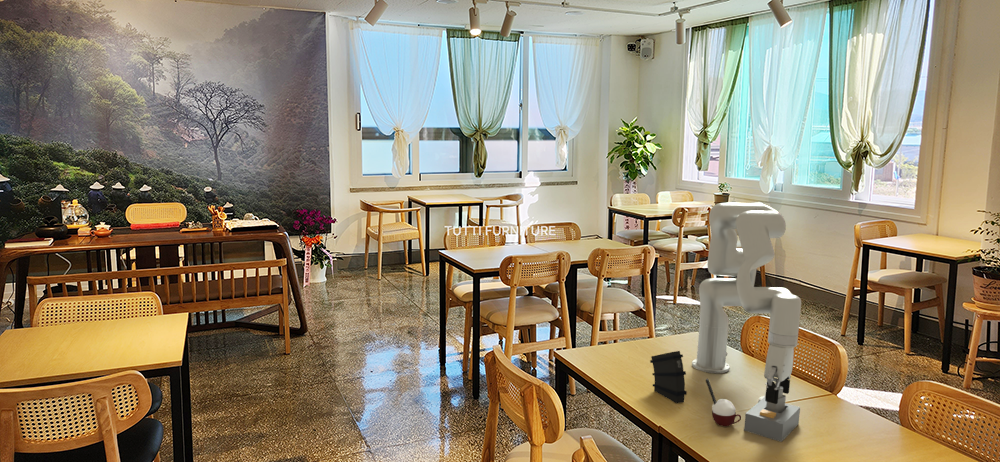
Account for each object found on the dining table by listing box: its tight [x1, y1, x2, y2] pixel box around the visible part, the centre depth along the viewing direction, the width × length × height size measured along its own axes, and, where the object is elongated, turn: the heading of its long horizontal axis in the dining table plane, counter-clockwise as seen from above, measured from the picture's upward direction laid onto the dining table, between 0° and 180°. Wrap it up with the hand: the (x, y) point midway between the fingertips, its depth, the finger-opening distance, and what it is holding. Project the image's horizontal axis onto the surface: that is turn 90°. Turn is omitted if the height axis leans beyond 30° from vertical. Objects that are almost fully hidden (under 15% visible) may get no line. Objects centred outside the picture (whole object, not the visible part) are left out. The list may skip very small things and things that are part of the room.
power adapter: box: [766, 382, 787, 413], centre depth 188 cm, size 3×5×12 cm, turn 127°
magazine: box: [649, 350, 687, 404], centre depth 206 cm, size 4×13×15 cm, turn 26°
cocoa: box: [705, 377, 742, 427], centre depth 187 cm, size 10×6×12 cm
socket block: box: [743, 398, 801, 443], centre depth 186 cm, size 15×10×6 cm, turn 140°
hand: (777, 397), depth 187 cm, fingers open, 9 cm apart
